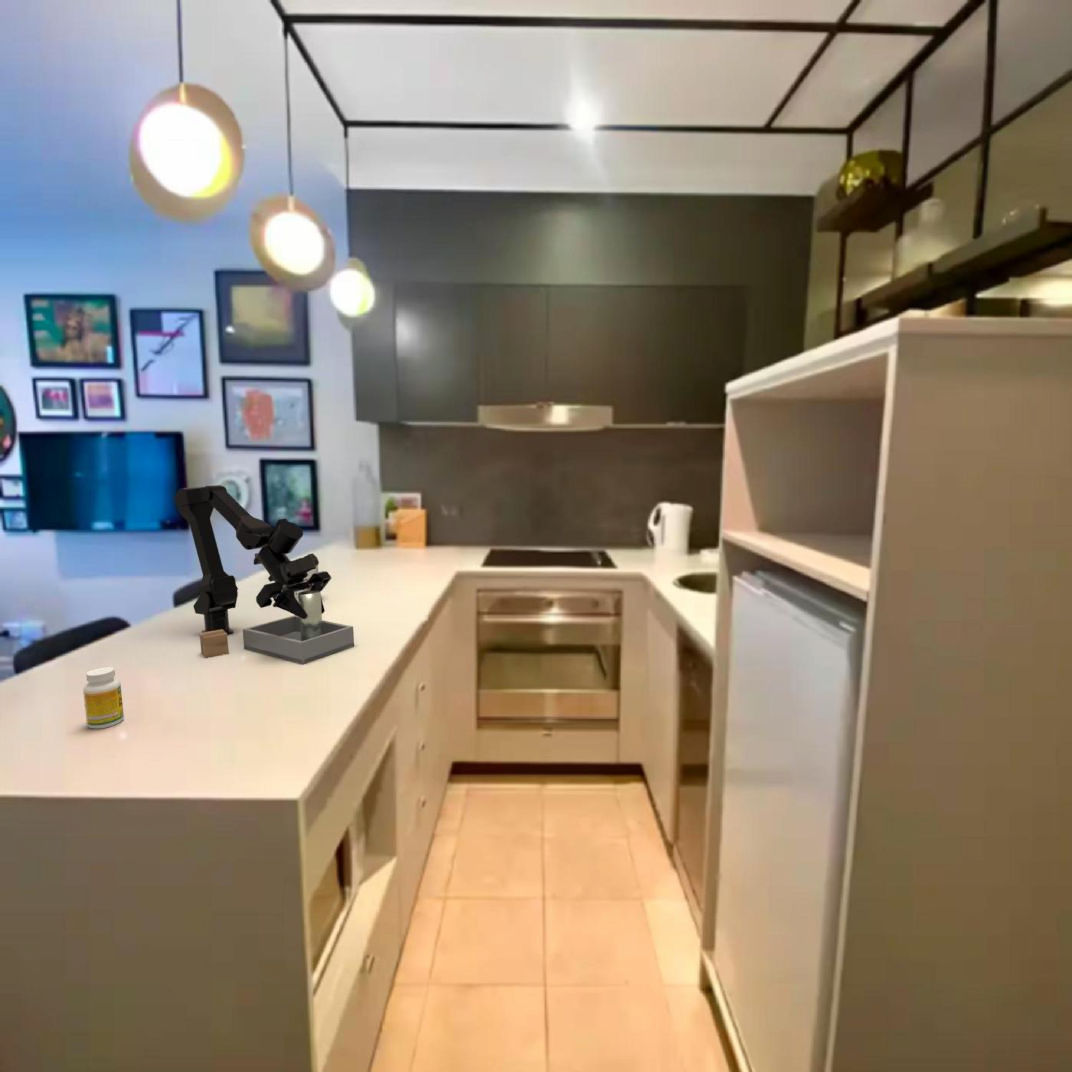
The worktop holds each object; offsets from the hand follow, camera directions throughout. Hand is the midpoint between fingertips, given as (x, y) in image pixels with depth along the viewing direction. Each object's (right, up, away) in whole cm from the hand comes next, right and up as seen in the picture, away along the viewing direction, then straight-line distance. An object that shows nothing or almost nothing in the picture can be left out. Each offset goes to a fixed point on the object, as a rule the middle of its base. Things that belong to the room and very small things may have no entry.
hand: (314, 615), depth 143 cm
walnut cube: (-24, -9, +1) cm, 26 cm away
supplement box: (-21, -3, +51) cm, 56 cm away
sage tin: (-1, -7, +2) cm, 7 cm away
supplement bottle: (-24, -15, -36) cm, 46 cm away
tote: (-5, -9, +4) cm, 11 cm away
